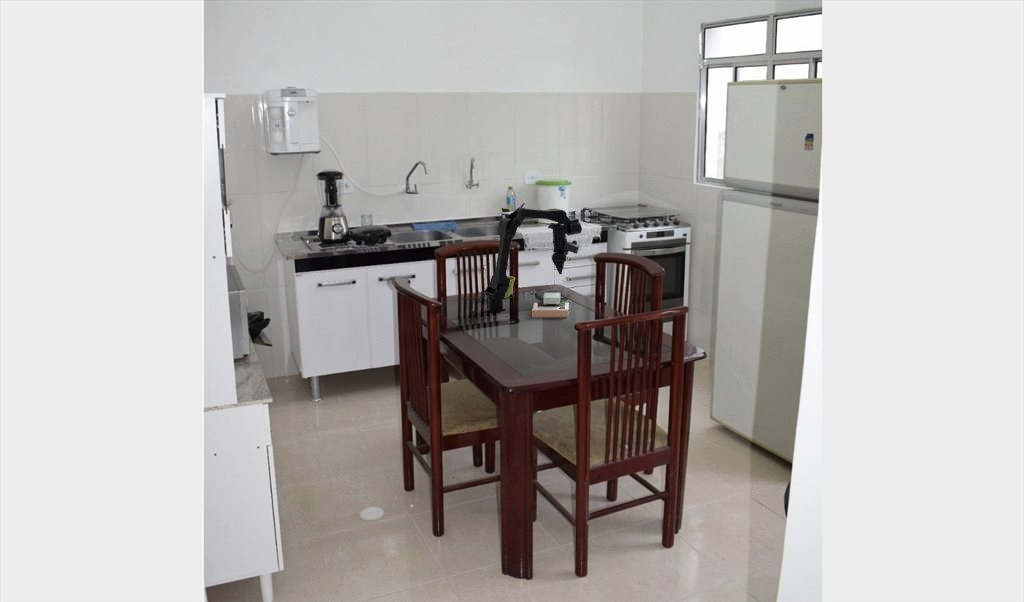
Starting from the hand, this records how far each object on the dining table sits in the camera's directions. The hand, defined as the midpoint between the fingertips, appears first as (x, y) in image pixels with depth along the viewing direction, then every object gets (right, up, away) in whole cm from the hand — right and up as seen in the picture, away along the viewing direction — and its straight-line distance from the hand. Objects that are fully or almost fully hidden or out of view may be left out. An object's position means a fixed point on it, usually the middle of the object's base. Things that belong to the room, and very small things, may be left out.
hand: (561, 271), depth 351 cm
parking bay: (-5, -18, -16) cm, 24 cm away
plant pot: (-25, -11, +10) cm, 29 cm away
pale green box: (-4, -14, -3) cm, 15 cm away
